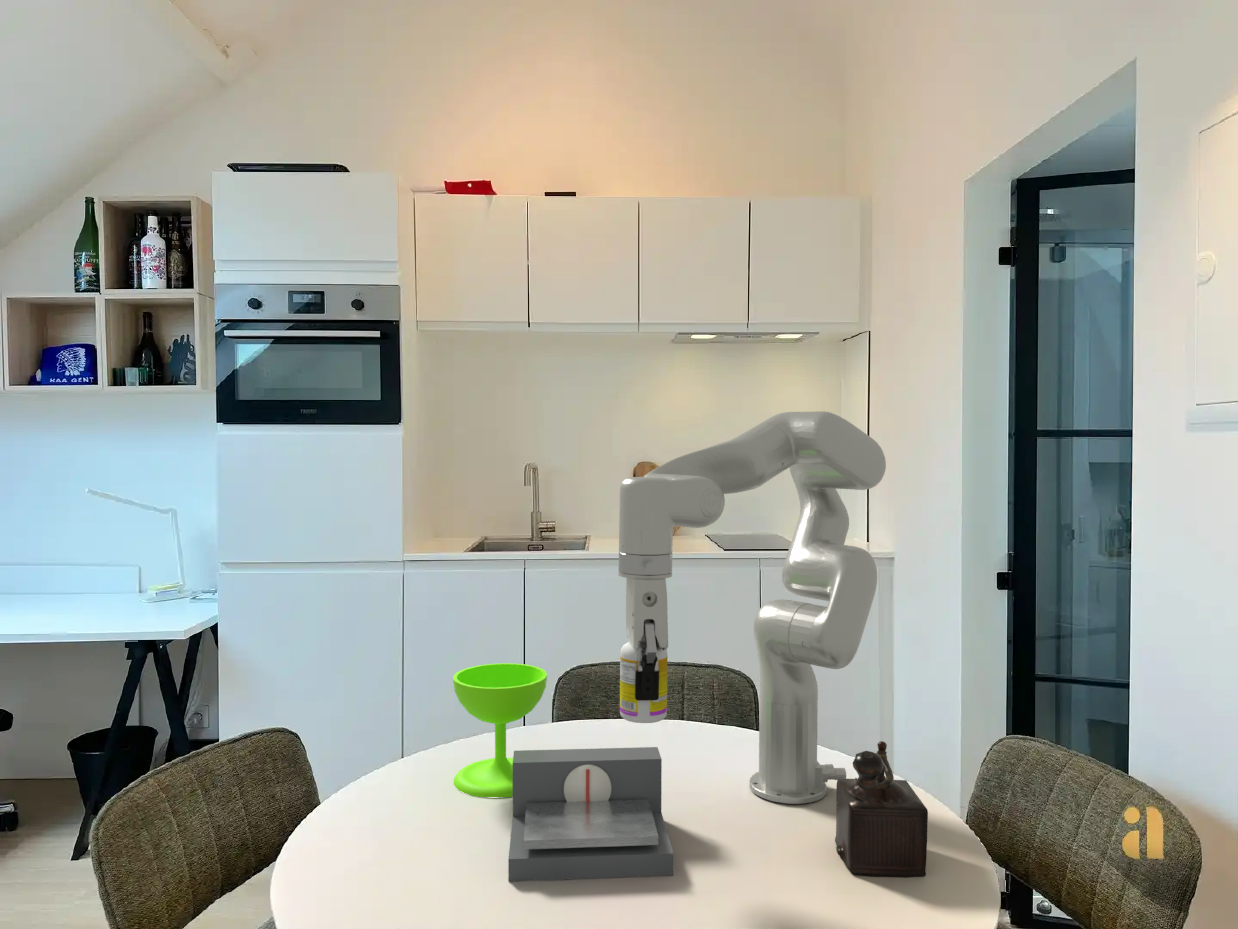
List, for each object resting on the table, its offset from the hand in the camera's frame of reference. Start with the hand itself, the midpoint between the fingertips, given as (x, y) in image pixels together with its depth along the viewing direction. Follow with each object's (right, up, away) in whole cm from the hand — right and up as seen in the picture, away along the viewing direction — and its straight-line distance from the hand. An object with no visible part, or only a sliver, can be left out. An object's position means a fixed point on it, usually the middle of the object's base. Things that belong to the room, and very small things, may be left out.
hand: (643, 691), depth 124 cm
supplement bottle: (0, -4, 0) cm, 4 cm away
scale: (-8, -23, +3) cm, 25 cm away
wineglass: (-24, -22, +28) cm, 43 cm away
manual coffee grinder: (+33, -24, -3) cm, 40 cm away
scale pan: (-8, -19, 0) cm, 21 cm away
